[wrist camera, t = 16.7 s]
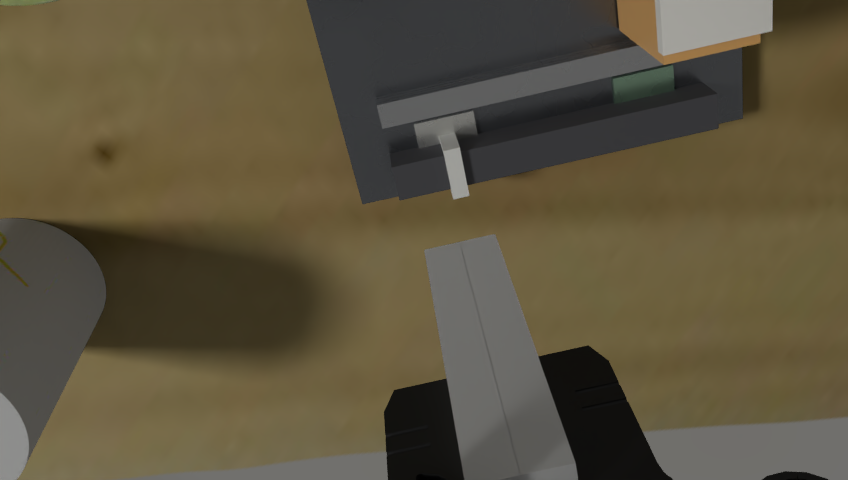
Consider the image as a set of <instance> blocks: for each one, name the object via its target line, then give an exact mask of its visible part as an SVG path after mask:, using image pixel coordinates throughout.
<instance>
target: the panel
mask: <svg viewBox="0 0 848 480" xmlns="http://www.w3.org/2000/svg"><path fill="white" fill-rule="evenodd" d="M307 4H308V8H309V11H310V15H311V19H312V22H313V26H314V29H315V33H316V37H317V40H318V44H319V48H320V51H321V55H322V58H323V62H324V66H325V69H326V73H327V77H328V80H329V84H330V88H331V91H332V95H333V98H334V102H335V106H336V109H337V113H338V117H339V120H340V124H341V128H342V131H343V135H344V138H345V142H346V146H347V149H348V153H349V157H350V160H351V164H352V168H353V171H354V175H355V178H356V182H357V186H358V189H359V193H360V197H361V200H362V204H366V203H370V202H375V201H379V200H384V199H388V198H392V197H397V196H398V192H397V188H396V184H395V180H394V176H393V172H392V168H391V159H390V154H391V153H395V152H399V151H404V150H408V149H413V148H417V147H419V148H424V147H428V146H433V145H437V144H441V143H440V138H439V136H443V135H447V134H451V133H455V135H456V138H457V140H459V139H463V138H468V137H472V136H476V135H478V133H483V132H487V131H492V130H496V129H500V128H505V127H509V126H514V125H518V124H522V123H527V122H531V121H536V120H540V119H544V118H549V117H553V116H558V115H562V114H566V113H571V112H575V111H580V110H584V109H588V108H593V107H597V106H601V105H606V104H610V103H615V104H617V103H621V102H626V101H630V100H635V99H639V98H643V97H648V96H652V95H657V94H661V93H665V92H670V91H674V90H675V89H676V88H681V87H685V86H689V85H694V84H698V83H704V84H705V85H707V86H708V87H710V88H711V89H712V90H714V91H715V92H716V93H718V124H720V123H724V122H728V121H733V120H737V119H742V118H743V92H742V47H741V48H737V49H732V50H728V51H724V52H719V53H715V54H710V55H706V56H702V57H697V58H693V59H689V60H684V61H680V62H675V63H671V64H667V65H663V64H662V63H660V62H659V61H658V60H657V59H655V58H654V57H653V56H652V55H650V54H649V53H648V52H646V51H645V50H644V49H643V48H641V47H640V46H639V45H637V44H636V43H635V42H634V41H632V40H631V39H630V38H628V37H627V36H626V35H625V34H623V33H622V32H621V31H620V30H619V20H618V8H617V0H307Z"/></svg>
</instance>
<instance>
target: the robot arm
mask: <svg viewBox="0 0 848 480" xmlns="http://www.w3.org/2000/svg"><path fill="white" fill-rule="evenodd" d="M424 251H425V257H426V263H427V268H428V274H429V280H430V286H431V291H432V297H433V303H434V309H435V314H436V320H437V326H438V331H439V337H440V343H441V349H442V354H443V360H444V366H445V372H446V377H447V379H443V380H438V381H434V382H429V383H424V384H420V385H415V386H411V387H406V388H402V389H397V390H394V392H393V394H392V396H391V398H390V400H389V403H388V405H387V407H386V409H385V411H384V419H385V434H386V452H387V470H388V480H672V478H671V477H669V476H668V475H666V474H665V473H664V472H663V470H662V469H661V467H660V466H659V465H658V463H657V461H656V459H655V457H654V455H653V453H652V451H651V449H650V446H649V444H648V442H647V441H646V438H645V436H644V434H643V432H642V430H641V428H640V426H639V423H638V421H637V419H636V417H635V415H634V413H633V411H632V409H631V407H630V405H629V403H628V402H627V400H626V396H625V394H624V392H623V390H622V388H621V386H620V385H619V383H618V380H617V378H616V375H615V373H614V371H613V369H612V367H611V365H610V363H609V361H608V360H607V359H605V358H604V357H603V356H602V355H600V354H599V353H598V352H596V351H595V350H594V349H592V348H591V347H590V346H584V347H579V348H575V349H570V350H566V351H561V352H557V353H552V354H548V355H543V356H538V355H537V352H536V349H535V346H534V343H533V340H532V338H531V335H530V332H529V329H528V326H527V323H526V321H525V318H524V315H523V312H522V309H521V306H520V303H519V301H518V298H517V295H516V292H515V289H514V286H513V284H512V281H511V278H510V275H509V272H508V269H507V267H506V264H505V261H504V258H503V255H502V252H501V250H500V247H499V244H498V241H497V238H496V235H495V234H493V235H489V236H484V237H480V238H475V239H471V240H466V241H462V242H457V243H453V244H448V245H444V246H440V247H435V248H431V249H426V250H424ZM763 480H828V479H825V478H822V477H819V476H816V475H813V474H810V473H807V472H781V473H778V474H773V475H769V476H767V477H765V478H764V479H763Z"/></svg>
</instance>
